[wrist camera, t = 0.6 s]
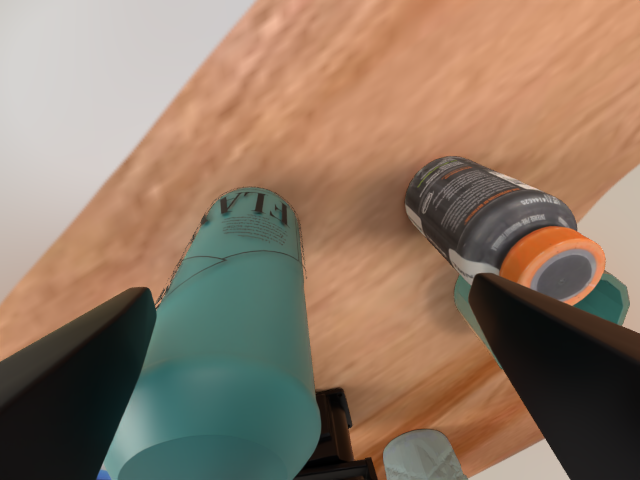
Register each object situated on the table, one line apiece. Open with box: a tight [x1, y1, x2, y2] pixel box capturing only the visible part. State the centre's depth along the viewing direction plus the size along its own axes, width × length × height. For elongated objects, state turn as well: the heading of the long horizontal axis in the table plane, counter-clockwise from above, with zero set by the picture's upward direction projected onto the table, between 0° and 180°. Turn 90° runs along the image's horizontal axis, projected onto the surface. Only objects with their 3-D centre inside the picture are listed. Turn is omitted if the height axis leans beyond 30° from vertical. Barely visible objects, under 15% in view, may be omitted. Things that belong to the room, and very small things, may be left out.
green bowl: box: [454, 270, 630, 369], centre depth 25 cm, size 10×10×6 cm
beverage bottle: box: [103, 187, 321, 480], centre depth 14 cm, size 6×7×20 cm
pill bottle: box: [405, 156, 606, 306], centre depth 18 cm, size 6×6×11 cm
